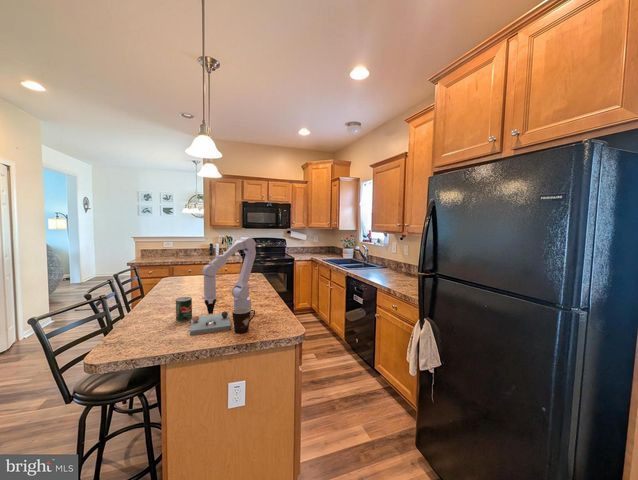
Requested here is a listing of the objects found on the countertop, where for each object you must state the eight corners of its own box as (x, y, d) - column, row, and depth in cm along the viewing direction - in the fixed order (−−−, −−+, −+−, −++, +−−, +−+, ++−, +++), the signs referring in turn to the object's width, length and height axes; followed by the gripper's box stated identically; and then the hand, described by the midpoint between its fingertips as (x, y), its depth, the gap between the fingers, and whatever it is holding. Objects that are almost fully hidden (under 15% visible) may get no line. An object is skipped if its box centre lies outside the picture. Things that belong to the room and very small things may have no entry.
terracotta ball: (199, 320, 137) (199, 314, 137) (199, 322, 134) (198, 316, 134) (192, 321, 136) (192, 314, 136) (192, 323, 133) (191, 316, 133)
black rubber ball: (227, 316, 144) (227, 310, 144) (228, 318, 141) (228, 312, 141) (221, 316, 143) (221, 310, 142) (221, 318, 140) (221, 312, 139)
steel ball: (214, 324, 135) (214, 319, 133) (214, 329, 132) (214, 324, 130) (207, 325, 133) (207, 321, 132) (207, 330, 131) (207, 326, 129)
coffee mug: (234, 336, 123) (233, 314, 122) (230, 329, 131) (230, 309, 130) (259, 331, 128) (259, 311, 128) (254, 325, 136) (254, 306, 135)
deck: (227, 316, 149) (227, 312, 149) (231, 329, 131) (231, 325, 131) (192, 320, 142) (191, 317, 142) (190, 335, 124) (190, 331, 124)
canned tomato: (185, 322, 140) (185, 301, 140) (172, 320, 142) (172, 300, 141) (195, 317, 148) (195, 297, 147) (182, 315, 150) (182, 296, 149)
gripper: (201, 285, 144) (202, 310, 145) (201, 292, 131) (202, 319, 132) (215, 284, 147) (216, 308, 148) (216, 290, 134) (217, 317, 135)
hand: (210, 313), depth 140 cm, fingers closed
